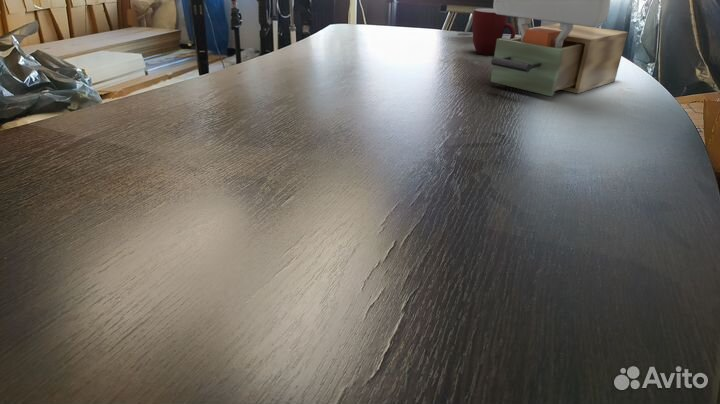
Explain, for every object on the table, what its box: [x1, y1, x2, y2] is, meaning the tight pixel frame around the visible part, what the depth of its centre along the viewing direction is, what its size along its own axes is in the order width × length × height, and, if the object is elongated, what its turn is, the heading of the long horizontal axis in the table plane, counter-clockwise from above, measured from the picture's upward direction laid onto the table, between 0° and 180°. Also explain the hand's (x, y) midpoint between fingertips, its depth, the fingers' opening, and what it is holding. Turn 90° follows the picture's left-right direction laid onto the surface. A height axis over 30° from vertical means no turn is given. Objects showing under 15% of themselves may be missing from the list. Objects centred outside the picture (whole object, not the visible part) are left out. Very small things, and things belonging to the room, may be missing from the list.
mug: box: [471, 8, 516, 56], centre depth 121 cm, size 10×8×10 cm
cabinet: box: [520, 24, 629, 94], centre depth 99 cm, size 16×14×10 cm
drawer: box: [490, 36, 585, 97], centre depth 91 cm, size 19×12×8 cm, turn 132°
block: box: [523, 27, 561, 47], centre depth 89 cm, size 4×4×4 cm
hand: (540, 46), depth 90 cm, fingers closed on block, 4 cm apart
